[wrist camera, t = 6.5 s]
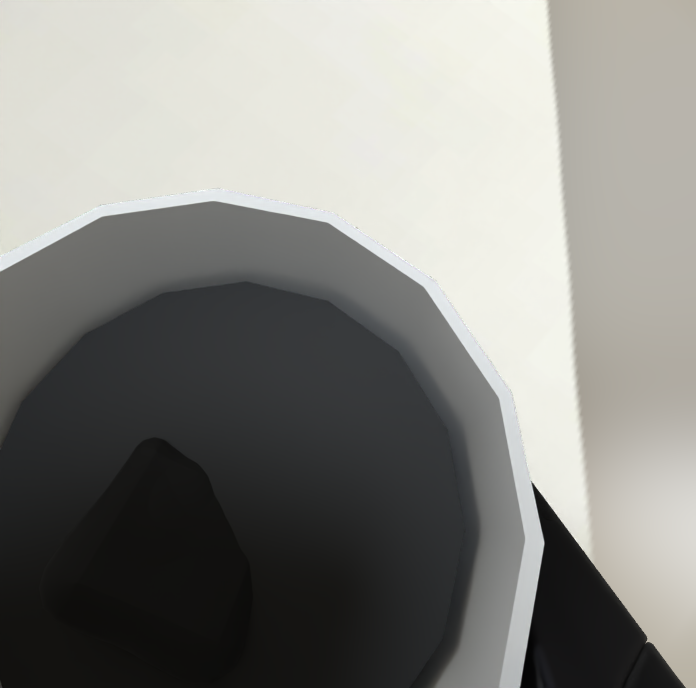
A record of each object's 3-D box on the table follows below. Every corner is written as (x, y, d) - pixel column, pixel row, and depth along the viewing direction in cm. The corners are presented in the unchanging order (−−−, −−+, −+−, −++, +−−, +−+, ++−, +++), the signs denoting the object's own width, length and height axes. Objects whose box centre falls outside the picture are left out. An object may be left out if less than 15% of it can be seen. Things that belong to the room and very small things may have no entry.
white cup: (368, 704, 13) (316, 1247, 3) (142, 567, 14) (-351, 684, 5) (478, 453, 14) (651, 345, 5) (265, 350, 16) (80, 107, 6)
